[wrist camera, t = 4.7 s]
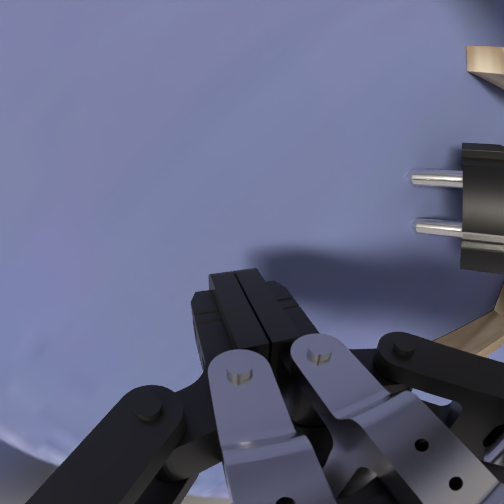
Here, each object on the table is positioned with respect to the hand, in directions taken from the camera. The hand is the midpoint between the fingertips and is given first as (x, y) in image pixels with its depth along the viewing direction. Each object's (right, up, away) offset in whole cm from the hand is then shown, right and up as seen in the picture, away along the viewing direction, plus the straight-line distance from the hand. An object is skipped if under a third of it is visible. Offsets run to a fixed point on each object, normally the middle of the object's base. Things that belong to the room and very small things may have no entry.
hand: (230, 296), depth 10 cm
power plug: (+13, +6, +4) cm, 15 cm away
